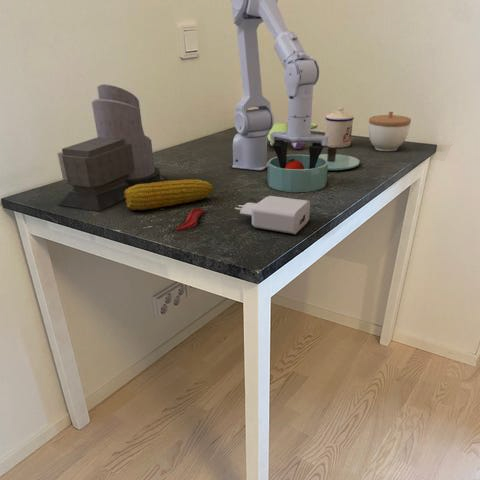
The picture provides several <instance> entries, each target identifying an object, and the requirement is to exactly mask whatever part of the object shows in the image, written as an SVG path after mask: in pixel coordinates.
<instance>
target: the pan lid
mask: <svg viewBox="0 0 480 480" xmlns="http://www.w3.org/2000/svg"><path fill="white" fill-rule="evenodd" d="M337 149H338V148H337V146H327V153H320V155H319V157H321V158H324V159H326V160H327V161H328V170H327V171H334V172H335V171H345V170H349V169H354V168H356V167H358V166H359V165H360V163H361V162H360V160H359V158H357V157H354V156H351V155H346V154H340V153H339V154H338V153H337Z"/></svg>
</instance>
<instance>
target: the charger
mask: <svg viewBox="0 0 480 480" xmlns="http://www.w3.org/2000/svg"><path fill="white" fill-rule="evenodd" d="M234 210H237V211H239V215H240V216H242V217H248V218H251V225H252V226H253V228H256V229H261V230H267V231H271V232H272V231H273V232H279V233H284V234H291V235H296V234H297V233H298V232H299V231H300V230H302V228H303V227H305V226H306V225H307V224H308V222H309V220H310V213H311V201H310V200H305V199H298V198H290V197H283V196H276V195H268V196H265V197H264V198H262V199H261V200H260V201H259V202H256V203H255V202H248V201H247V202H246V203H245V204H243V205H242V204H239V205H238V207H234Z"/></svg>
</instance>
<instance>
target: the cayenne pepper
mask: <svg viewBox="0 0 480 480" xmlns="http://www.w3.org/2000/svg"><path fill="white" fill-rule="evenodd" d="M203 213H206V211H205V210H204V209H202V208H193V209H192V210H191V211H190V212H189V213H188V214H187V215H186V219H185V222H183V223H182V224H180V225H178V226H177V227H176V228H175V229H174V230H175V231H180V230H187V229H190V228H193V227H196V226H197V225H198V219H199V217H200V216H201V215H202V214H203Z"/></svg>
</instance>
